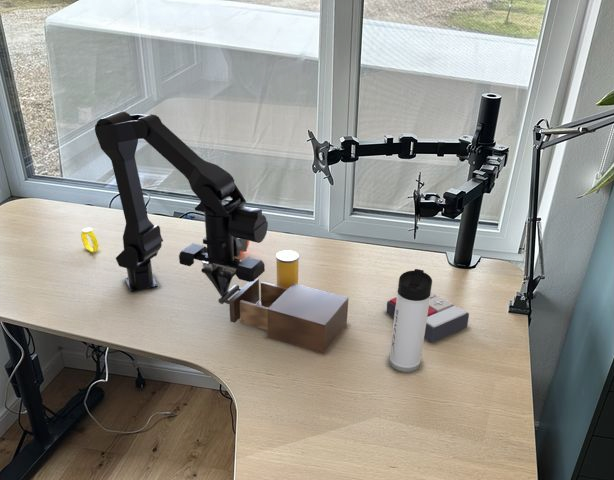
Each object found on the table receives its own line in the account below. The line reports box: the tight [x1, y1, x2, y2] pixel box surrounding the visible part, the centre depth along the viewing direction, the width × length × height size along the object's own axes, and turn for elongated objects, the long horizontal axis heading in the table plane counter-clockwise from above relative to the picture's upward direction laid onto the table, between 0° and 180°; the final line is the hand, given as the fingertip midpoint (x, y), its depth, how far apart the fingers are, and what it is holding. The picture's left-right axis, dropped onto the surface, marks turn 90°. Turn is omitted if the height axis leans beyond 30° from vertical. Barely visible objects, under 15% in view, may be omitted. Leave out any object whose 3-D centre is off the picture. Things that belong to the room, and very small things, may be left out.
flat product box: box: [386, 291, 470, 344], centre depth 146 cm, size 11×4×15 cm
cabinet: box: [267, 283, 349, 355], centre depth 140 cm, size 13×12×7 cm
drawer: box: [217, 277, 288, 331], centre depth 145 cm, size 16×11×6 cm
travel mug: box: [388, 268, 433, 373], centre depth 128 cm, size 6×7×20 cm
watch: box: [80, 227, 100, 254], centre depth 169 cm, size 6×3×6 cm, turn 46°
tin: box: [275, 249, 300, 288], centre depth 152 cm, size 5×5×10 cm
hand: (223, 295), depth 148 cm, fingers closed
